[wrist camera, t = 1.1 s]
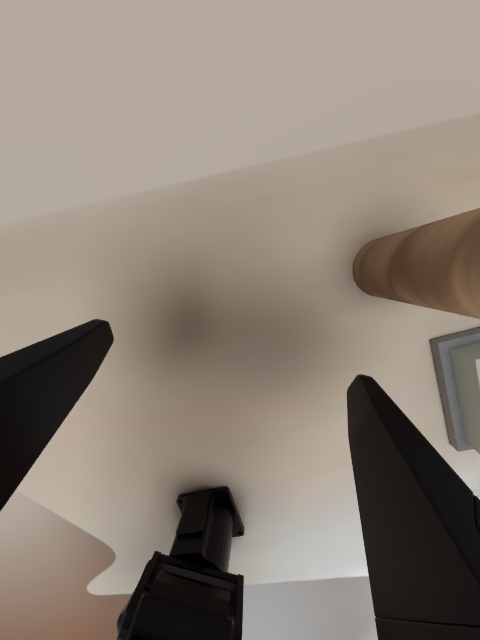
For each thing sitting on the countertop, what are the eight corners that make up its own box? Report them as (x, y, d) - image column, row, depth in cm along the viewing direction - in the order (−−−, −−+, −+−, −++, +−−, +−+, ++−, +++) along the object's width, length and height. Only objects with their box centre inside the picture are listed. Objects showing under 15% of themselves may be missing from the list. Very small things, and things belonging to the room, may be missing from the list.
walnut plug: (419, 286, 20) (685, 310, 7) (359, 303, 21) (505, 351, 8) (408, 228, 19) (683, 143, 7) (346, 248, 20) (486, 208, 7)
